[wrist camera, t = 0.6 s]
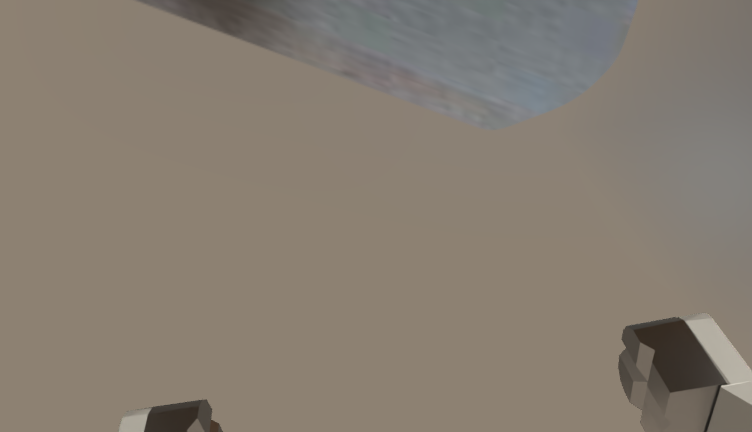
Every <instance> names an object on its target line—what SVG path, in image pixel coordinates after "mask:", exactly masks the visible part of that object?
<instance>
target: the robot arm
mask: <svg viewBox="0 0 752 432" xmlns="http://www.w3.org/2000/svg"><path fill="white" fill-rule="evenodd" d="M622 341H623V343H624V345H625V346H626V349H625V350H624V351H623V352H622V353H621V354H620V355H619V364H618V368H619V374H620V380H621V383H622V386H623V389H624V391H625V393H626V396H627V398H628V399H629V402H630V403H631V404H633V405H635V406H636V407H638V408H639V409H641V410H642V416H641V421H640V423H641V425H642V427H643V429H644V431H645V432H752V370H751V369H750V368H749V366H748V365H747V364H746V362H745V361H744V360H743V358H742V357H741V356H740V355H739V353H738V352H737V350H736V349H735V348H734V347H733V345H732V344H731V343H730V341H729V340H728V339H727V337H726V336H725V335H724V333H723V332H722V331H721V329H720V328H719V327H718V325H717V324H716V323H715V321H714V320H713V319H712V317H711V316H709V315H708V314H706V313H699V314H694V315H688V316H682V317H678V318H676V317H673V318H668V319H663V320H657V321H651V322H646V323H641V324H635V325H630V326H626V327H625V329H624V330H623V334H622ZM211 416H212V408H211V406H210V405H209V403H208V401H207V400H198V401H191V402H185V403H177V404H170V405H164V406H156V407H150V408H144V409H137V410H132V411H127V412H126V413H125V415H124V416H123V418H122V420H121V422H120V426H119V429H118V432H223V431H222V429H221V427H220V425H219V423H217V422H215V421H213V420H211Z"/></svg>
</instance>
